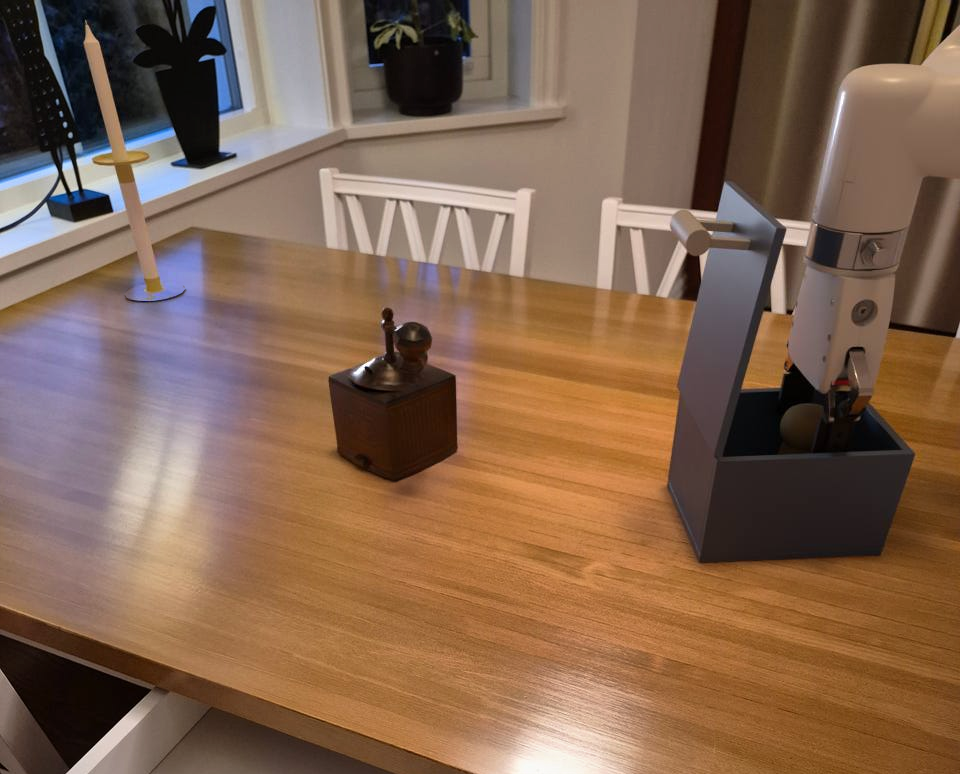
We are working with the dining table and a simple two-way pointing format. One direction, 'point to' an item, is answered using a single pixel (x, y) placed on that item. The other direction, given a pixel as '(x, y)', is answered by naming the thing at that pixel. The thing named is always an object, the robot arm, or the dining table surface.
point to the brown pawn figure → (799, 428)
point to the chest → (785, 487)
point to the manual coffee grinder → (396, 406)
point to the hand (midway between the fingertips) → (808, 435)
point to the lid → (725, 305)
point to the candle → (122, 165)
